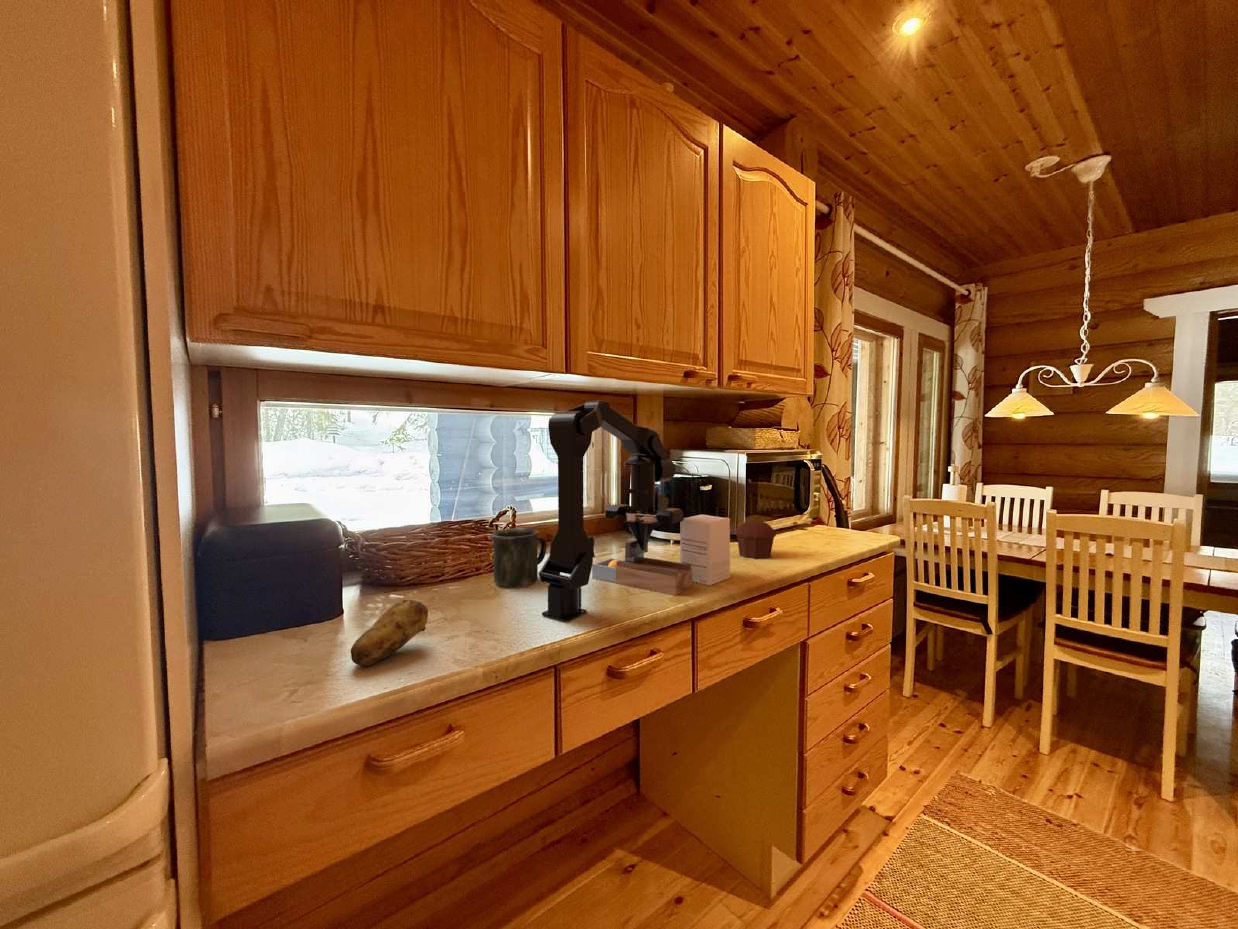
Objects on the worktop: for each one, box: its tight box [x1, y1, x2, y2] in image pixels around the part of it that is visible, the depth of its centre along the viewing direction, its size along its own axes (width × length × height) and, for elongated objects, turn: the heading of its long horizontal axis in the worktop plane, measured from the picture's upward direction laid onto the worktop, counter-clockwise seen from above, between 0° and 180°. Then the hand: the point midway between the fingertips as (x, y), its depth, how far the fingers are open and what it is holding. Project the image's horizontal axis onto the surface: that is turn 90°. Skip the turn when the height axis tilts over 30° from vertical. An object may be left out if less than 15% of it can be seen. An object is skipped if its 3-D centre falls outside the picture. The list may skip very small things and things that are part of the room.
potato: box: [350, 599, 429, 667], centre depth 84 cm, size 8×13×8 cm, turn 135°
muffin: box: [734, 519, 777, 560], centre depth 152 cm, size 12×11×10 cm
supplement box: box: [679, 514, 731, 586], centre depth 128 cm, size 9×9×15 cm
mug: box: [490, 527, 547, 588], centre depth 126 cm, size 11×15×12 cm
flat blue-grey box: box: [591, 557, 625, 584], centre depth 129 cm, size 8×8×4 cm
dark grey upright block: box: [624, 538, 649, 564], centre depth 125 cm, size 8×2×6 cm, turn 145°
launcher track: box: [615, 556, 693, 596], centre depth 122 cm, size 8×16×5 cm, turn 55°
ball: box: [608, 559, 620, 568], centre depth 129 cm, size 4×4×4 cm
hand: (643, 549), depth 124 cm, fingers closed
